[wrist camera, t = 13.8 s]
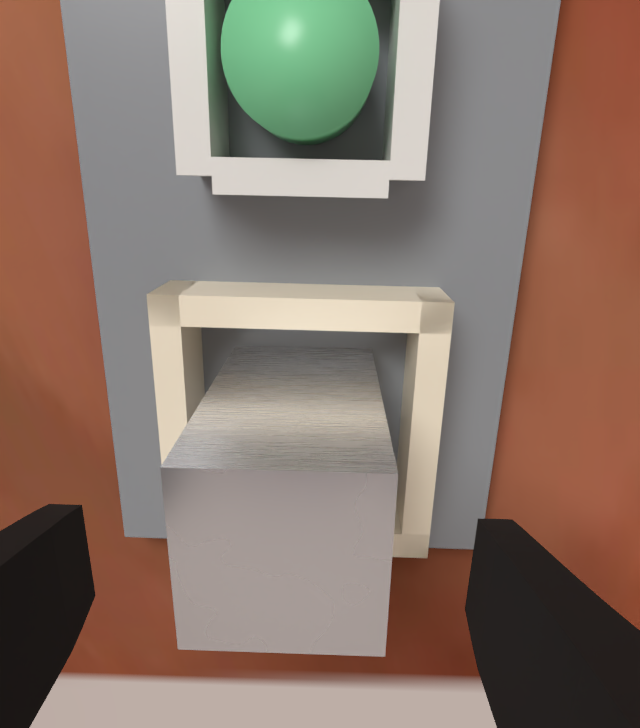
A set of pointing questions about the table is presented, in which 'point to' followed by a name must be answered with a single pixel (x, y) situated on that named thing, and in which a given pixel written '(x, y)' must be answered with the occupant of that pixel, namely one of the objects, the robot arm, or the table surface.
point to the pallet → (313, 232)
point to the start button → (300, 64)
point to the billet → (284, 506)
